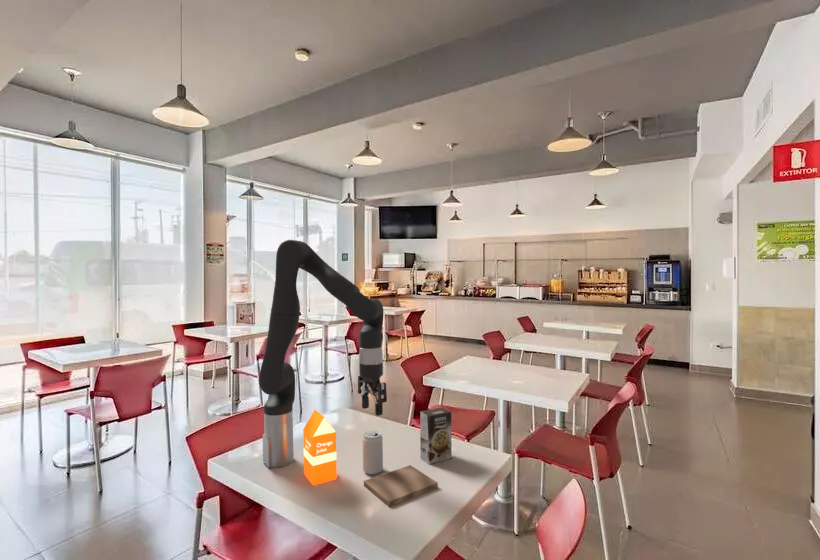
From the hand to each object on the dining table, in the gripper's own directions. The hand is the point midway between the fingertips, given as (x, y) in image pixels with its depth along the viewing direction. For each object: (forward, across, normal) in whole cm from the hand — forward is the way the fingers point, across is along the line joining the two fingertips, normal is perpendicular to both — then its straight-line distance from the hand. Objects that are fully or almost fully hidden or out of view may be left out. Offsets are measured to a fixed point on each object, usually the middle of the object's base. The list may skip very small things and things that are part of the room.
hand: (372, 411), depth 133 cm
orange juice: (+19, -7, -15) cm, 26 cm away
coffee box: (+20, +5, +22) cm, 30 cm away
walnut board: (+19, +13, +1) cm, 23 cm away
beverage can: (+19, 0, 0) cm, 19 cm away
